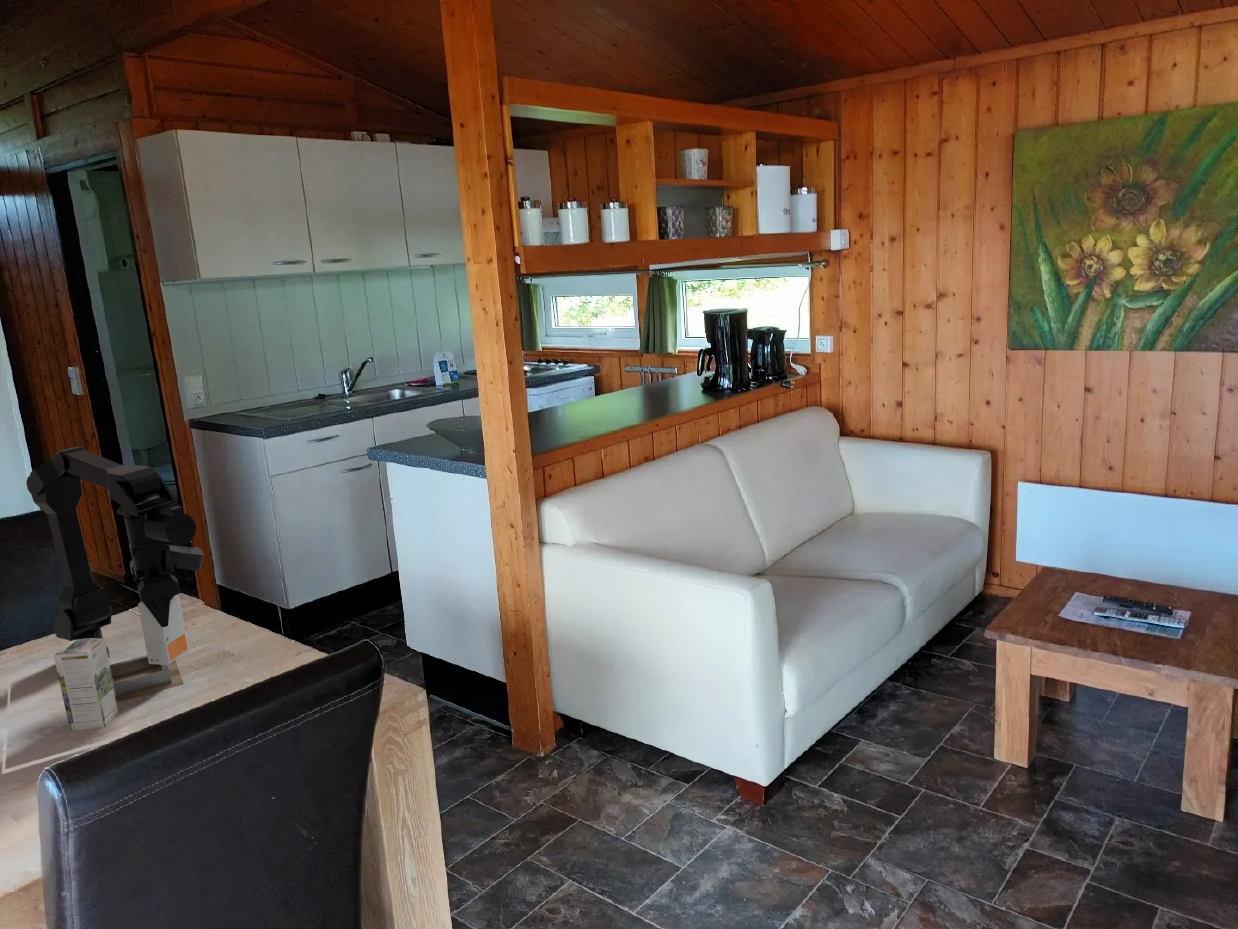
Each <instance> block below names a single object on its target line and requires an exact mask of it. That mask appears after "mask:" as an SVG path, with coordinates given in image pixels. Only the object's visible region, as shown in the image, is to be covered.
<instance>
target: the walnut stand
mask: <svg viewBox="0 0 1238 929" xmlns="http://www.w3.org/2000/svg"><path fill="white" fill-rule="evenodd" d="M168 668H169V671H170V676H171V681H172V683H171V684H167V685H164V686H160V687H156V688H153V689H149V690H146V691H142V692H138V693H135V694H131V695H128V696H124V697H120V698H117V703H121V702H124V701H128V700H132V699H135V698H138V697H139V698H140V697H142V696H147V695H149V694H153V693H156V692H159V691H164V690H167V689H168V690H169V689H171V688H175V687H177V686H182V685H184V681H183V678H182V675H181V672H180V669H179V667H178V664H177V662H176V660H174V661H173V662H171V663H170V664H169V665H168ZM159 671H162V670H161V667H156V668H152V669H149V670H145V671H141V672H138V673H134V674H130V675H126V676H123V677H119V678H115V679H113V684H114V683H118V682H122V681H125V680H129V679H133V678H136V677H140V676H144V675H148V674H151V673H155V672H159Z"/></svg>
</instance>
